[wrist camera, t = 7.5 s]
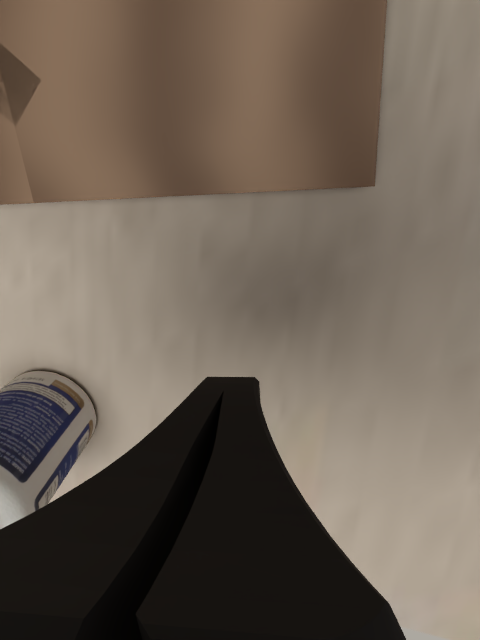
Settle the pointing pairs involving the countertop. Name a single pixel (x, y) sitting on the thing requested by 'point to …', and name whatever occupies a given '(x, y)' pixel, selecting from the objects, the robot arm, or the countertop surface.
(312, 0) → the walnut board
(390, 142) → the countertop surface
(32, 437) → the pill bottle
